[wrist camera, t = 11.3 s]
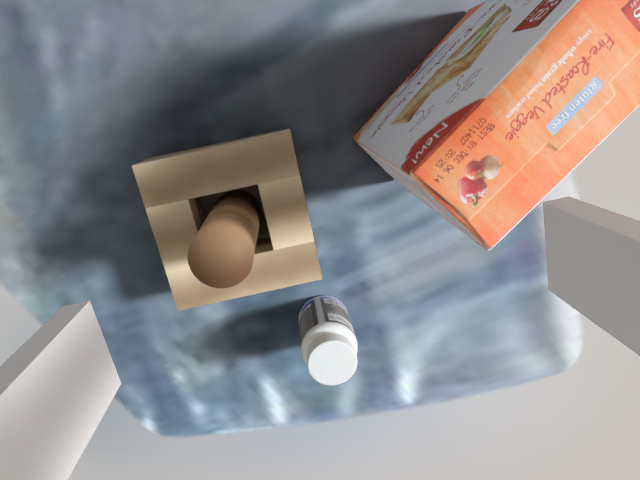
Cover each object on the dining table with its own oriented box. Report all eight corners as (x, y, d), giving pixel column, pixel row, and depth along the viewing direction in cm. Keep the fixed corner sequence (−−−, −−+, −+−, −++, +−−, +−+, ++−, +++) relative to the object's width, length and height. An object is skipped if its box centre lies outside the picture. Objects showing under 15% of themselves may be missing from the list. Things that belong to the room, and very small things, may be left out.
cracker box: (465, 5, 39) (662, -94, 19) (512, 59, 40) (741, 22, 20) (345, 135, 41) (407, 172, 21) (394, 182, 42) (495, 259, 22)
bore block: (149, 157, 40) (131, 165, 35) (289, 127, 40) (290, 131, 35) (189, 287, 44) (178, 310, 39) (318, 259, 44) (322, 279, 39)
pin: (208, 195, 40) (179, 234, 29) (254, 185, 40) (244, 220, 29) (220, 239, 42) (197, 294, 30) (265, 230, 42) (259, 280, 30)
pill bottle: (308, 345, 46) (313, 398, 38) (291, 304, 45) (293, 349, 37) (354, 329, 46) (369, 378, 38) (339, 287, 45) (351, 328, 37)
